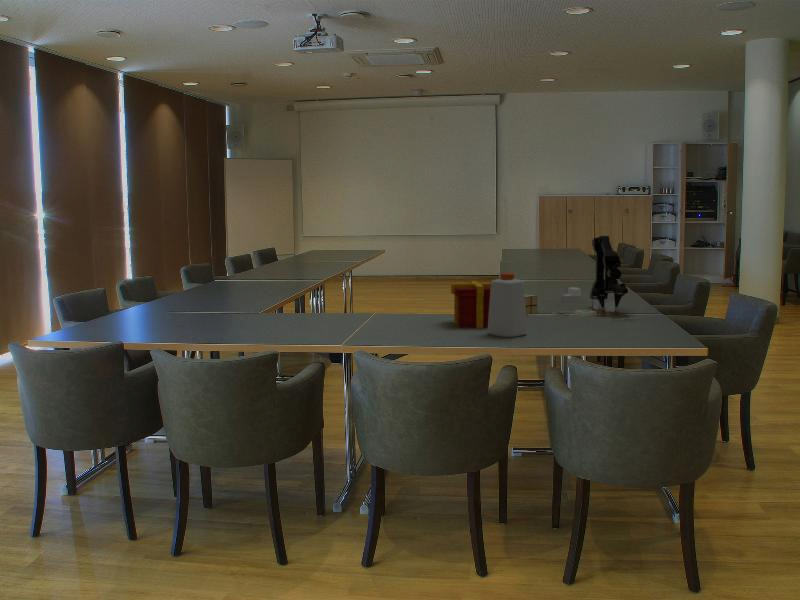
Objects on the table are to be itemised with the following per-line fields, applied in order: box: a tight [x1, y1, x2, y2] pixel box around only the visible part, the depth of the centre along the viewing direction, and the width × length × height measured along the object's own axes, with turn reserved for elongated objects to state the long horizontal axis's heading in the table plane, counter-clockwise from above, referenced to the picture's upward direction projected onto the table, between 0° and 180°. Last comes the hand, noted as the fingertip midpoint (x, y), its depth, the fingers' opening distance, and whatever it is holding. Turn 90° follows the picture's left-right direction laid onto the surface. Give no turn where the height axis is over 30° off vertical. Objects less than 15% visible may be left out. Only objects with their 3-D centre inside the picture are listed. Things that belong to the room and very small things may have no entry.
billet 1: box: [592, 299, 607, 311], centre depth 420 cm, size 4×4×7 cm
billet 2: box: [605, 300, 616, 313], centre depth 412 cm, size 4×4×7 cm
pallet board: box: [588, 308, 622, 317], centre depth 416 cm, size 18×10×3 cm, turn 22°
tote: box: [550, 310, 575, 317], centre depth 419 cm, size 11×11×1 cm
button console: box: [574, 309, 598, 317], centre depth 413 cm, size 8×8×3 cm
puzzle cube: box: [525, 293, 538, 315], centre depth 426 cm, size 10×10×10 cm
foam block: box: [561, 286, 582, 303], centre depth 474 cm, size 10×10×8 cm
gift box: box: [450, 280, 491, 329], centre depth 392 cm, size 25×25×20 cm
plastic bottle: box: [486, 272, 528, 339], centre depth 362 cm, size 15×15×28 cm
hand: (609, 307), depth 412 cm, fingers open, 8 cm apart
